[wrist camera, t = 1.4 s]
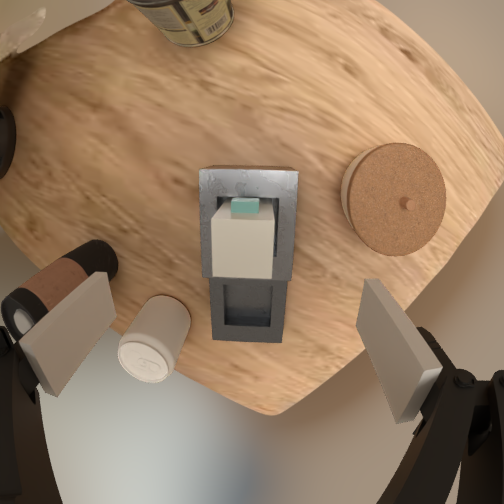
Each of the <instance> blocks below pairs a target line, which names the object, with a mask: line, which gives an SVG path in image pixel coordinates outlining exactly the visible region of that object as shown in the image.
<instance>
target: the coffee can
mask: <svg viewBox="0 0 504 504" xmlns="http://www.w3.org/2000/svg"><path fill="white" fill-rule="evenodd" d="M127 1H128V2H130V3H131V4H133V5H134V6H135V7H136V8H137V9H138V10H139V11H140V12H142V13H143V14H144V15H145V16H146V17H147V18H148V19H149V20H150V21H151V22H152V23H153V24H154V25H155V26H156V27H157V28H158V29H159V30H160V31H161V32H162V33H163V34H164V35H165V36H166V38H167V39H168V40H169V41H171V42H172V43H174V44H177V45H180V46H184V47H196V46H202V45H205V44H208V43H210V42H213V41H214V40H216V39H218V38H219V37H221V36H222V35H223V34H224V33H225V32H226V31H227V30H228V28H229V27H230V25H231V24H232V22H233V18H234V9H233V6H232V4H231V0H127Z"/></svg>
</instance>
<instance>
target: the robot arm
mask: <svg viewBox="0 0 504 504" xmlns="http://www.w3.org/2000/svg"><path fill="white" fill-rule="evenodd" d="M15 137H16V131H15V122H14V118H13V115H12V113H11V111H10V110H9V109H8V108H7V107H5V106H0V179H1V178H2V177H3V176H4V175H5V173H6V172H7V170H8V168H9V166H10V163H11V160H12V157H13V153H14V148H15ZM116 317H117V315H116V311H115V307H114V303H113V299H112V295H111V290H110V285H109V281H108V276H107V272H95V273H93V274H92V275H91V276H90V277H89V278H87V279H86V280H85V281H84V282H83V283H81V284H80V285H79V286H78V287H77V288H76V289H74V290H73V291H72V292H71V293H70V294H69V295H68V296H66V297H65V298H64V299H63V300H62V301H61V302H60V303H59V304H57V305H56V306H55V307H54V308H53V309H52V310H51V311H50V312H49V313H48V314H46V315H45V316H43V317H42V318H40V319H39V320H38V321H37V322H36V324H34V325H33V326H32V327H31V329H29V330H28V331H27V332H26V333H25V334H24V335H23V336H22V337H21V338H20V339H19V340H18V341H17V342H16V343H15V344H13V342H12V340H11V337H10V335H9V333H8V330H7V328H5V327H4V326H0V504H63V503H62V500H61V497H60V494H59V490H58V487H57V484H56V481H55V477H54V473H53V470H52V466H51V462H50V458H49V453H48V449H47V444H46V439H45V433H44V428H43V421H42V414H41V406H40V398H39V392H38V390H37V388H36V386H37V385H38V384H39V383H40V384H41V386H42V388H43V390H44V391H45V393H48V394H50V395H53V396H55V397H58V396H59V394H60V393H61V391H62V390H63V388H64V387H65V386H66V384H67V383H68V381H69V380H70V378H71V377H72V376H73V374H74V373H75V371H76V370H77V368H78V367H79V366H80V364H81V363H82V362H83V360H84V359H85V358H86V356H87V355H88V354H89V352H90V351H91V349H92V348H93V347H94V346H95V344H96V343H97V341H98V340H99V339H100V338H101V336H102V335H103V334H104V332H105V331H106V330H107V328H108V327H109V326H110V325H111V323H112V322H113V321H114V320H115V318H116ZM356 328H357V330H358V332H359V334H360V336H361V339H362V341H363V343H364V346H365V348H366V350H367V352H368V355H369V357H370V359H371V362H372V364H373V366H374V369H375V371H376V374H377V376H378V378H379V381H380V383H381V386H382V388H383V391H384V393H385V396H386V398H387V401H388V403H389V406H390V408H391V411H392V414H393V416H394V419H395V422H396V424H399V423H403V422H408V421H412V420H414V419H415V417H416V416H417V414H418V412H419V410H420V411H421V413H422V416H423V419H422V420H421V422H420V423H419V425H418V426H417V428H416V429H415V431H414V432H413V435H414V437H413V439H412V442H411V443H410V446H409V448H408V450H407V452H406V454H405V456H404V457H403V459H402V461H401V463H400V465H399V467H398V469H397V471H396V472H395V474H394V476H393V478H392V479H391V481H390V483H389V484H388V486H387V488H386V489H385V491H384V493H383V494H382V496H381V497H380V499H379V501H378V502H377V503H376V504H445V502H446V500H447V498H448V495H449V493H450V490H451V487H452V485H453V482H454V480H455V477H456V474H457V471H458V468H459V465H460V462H461V470H460V480H459V489H458V496H457V503H456V504H504V370H499V371H497V372H495V373H494V375H493V377H492V379H491V380H490V381H477V380H476V378H475V376H474V375H473V374H472V373H470V372H468V371H466V370H464V369H456V368H455V366H454V365H453V363H452V362H451V360H450V359H449V358H448V356H447V355H446V354H445V352H444V351H443V349H441V346H440V345H439V344H438V343H437V342H436V340H435V338H434V337H433V336H432V334H431V333H430V332H428V331H427V330H426V329H424V328H423V327H417V328H416V327H415V326H414V324H413V323H412V322H411V320H410V319H409V317H408V316H407V315H406V313H405V312H404V311H403V309H402V308H401V307H400V305H399V304H398V303H397V301H396V300H395V299H394V297H393V296H392V295H391V294H390V292H389V291H388V290H387V288H386V287H385V286H384V285H383V283H382V282H381V281H380V280H379V279H365V281H364V287H363V292H362V297H361V303H360V308H359V312H358V317H357V322H356Z"/></svg>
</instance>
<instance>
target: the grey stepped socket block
mask: <svg viewBox="0 0 504 504" xmlns="http://www.w3.org/2000/svg"><path fill="white" fill-rule="evenodd" d="M297 189H298V171H297V170H295V169H293V168H292V167H277V166H242V165H213V166H209V167H206V168H202V169H199V198H200V236H201V261H202V277H205V278H209V284H210V304H211V321H212V337H213V340H223V341H241V342H265V343H282V335H283V325H284V314H285V303H286V291H287V281H291V277H292V265H293V252H294V238H295V223H296V207H297ZM228 197H255V198H271V200H272V206H273V213H274V220H275V224H274V245H273V265H272V279H261V278H235V277H213V271H212V237H211V218H212V217H213V216H214V215H215V213H216V212H217V211H218V209H219V208H220V207H221V205H222V204H223V203H224V202H225V200H226V199H227V198H228Z"/></svg>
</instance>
